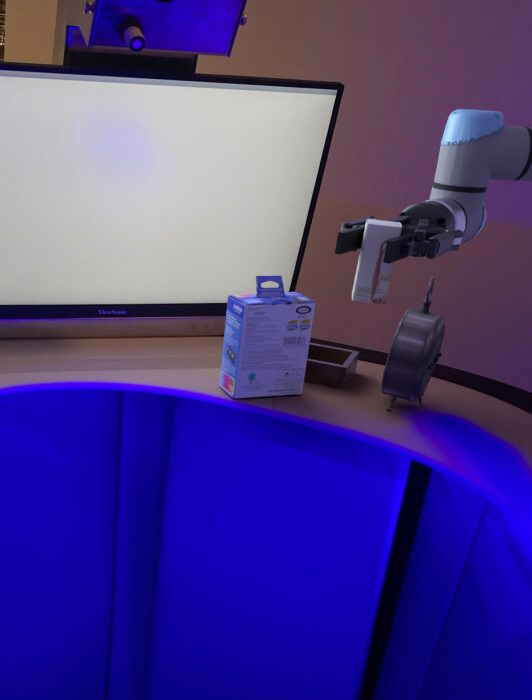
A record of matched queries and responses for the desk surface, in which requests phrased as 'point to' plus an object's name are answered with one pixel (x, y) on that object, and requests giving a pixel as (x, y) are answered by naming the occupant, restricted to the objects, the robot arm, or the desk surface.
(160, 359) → the desk surface
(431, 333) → the alarm clock
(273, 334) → the ink cartridge box
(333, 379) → the holder
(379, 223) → the white box
